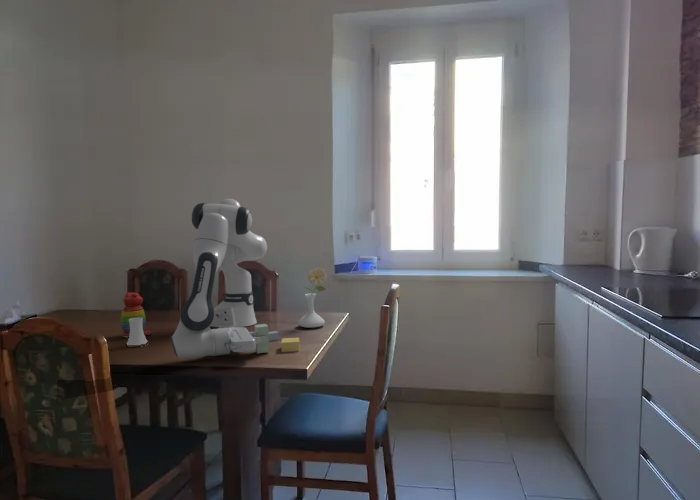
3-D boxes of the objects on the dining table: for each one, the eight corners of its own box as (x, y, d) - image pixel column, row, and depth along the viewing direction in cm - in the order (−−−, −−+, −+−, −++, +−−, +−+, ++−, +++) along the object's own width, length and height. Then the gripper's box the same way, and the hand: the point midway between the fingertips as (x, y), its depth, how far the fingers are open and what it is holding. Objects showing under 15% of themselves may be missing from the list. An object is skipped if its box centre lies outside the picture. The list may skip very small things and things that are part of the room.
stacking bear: (153, 335, 200) (150, 291, 199) (128, 340, 192) (125, 295, 191) (141, 331, 207) (138, 289, 206) (116, 336, 200) (114, 292, 198)
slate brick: (263, 342, 184) (263, 334, 183) (261, 340, 186) (260, 333, 186) (278, 340, 187) (278, 332, 186) (276, 338, 189) (275, 330, 189)
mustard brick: (281, 352, 170) (281, 342, 169) (282, 348, 176) (282, 338, 175) (299, 351, 170) (298, 341, 170) (299, 347, 176) (298, 337, 176)
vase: (149, 345, 183) (147, 319, 183) (127, 348, 180) (125, 321, 179) (146, 341, 190) (145, 315, 189) (125, 344, 186) (123, 318, 185)
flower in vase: (295, 329, 202) (292, 269, 200) (301, 323, 213) (299, 266, 211) (326, 330, 200) (324, 269, 198) (331, 323, 211) (329, 266, 210)
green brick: (257, 353, 167) (256, 327, 166) (255, 350, 171) (254, 325, 170) (269, 352, 168) (268, 326, 168) (266, 349, 172) (265, 323, 171)
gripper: (226, 339, 155) (270, 334, 159) (219, 325, 174) (258, 321, 179) (227, 358, 155) (270, 353, 160) (220, 343, 174) (259, 338, 179)
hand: (264, 336), depth 169 cm, fingers closed on green brick, 4 cm apart
